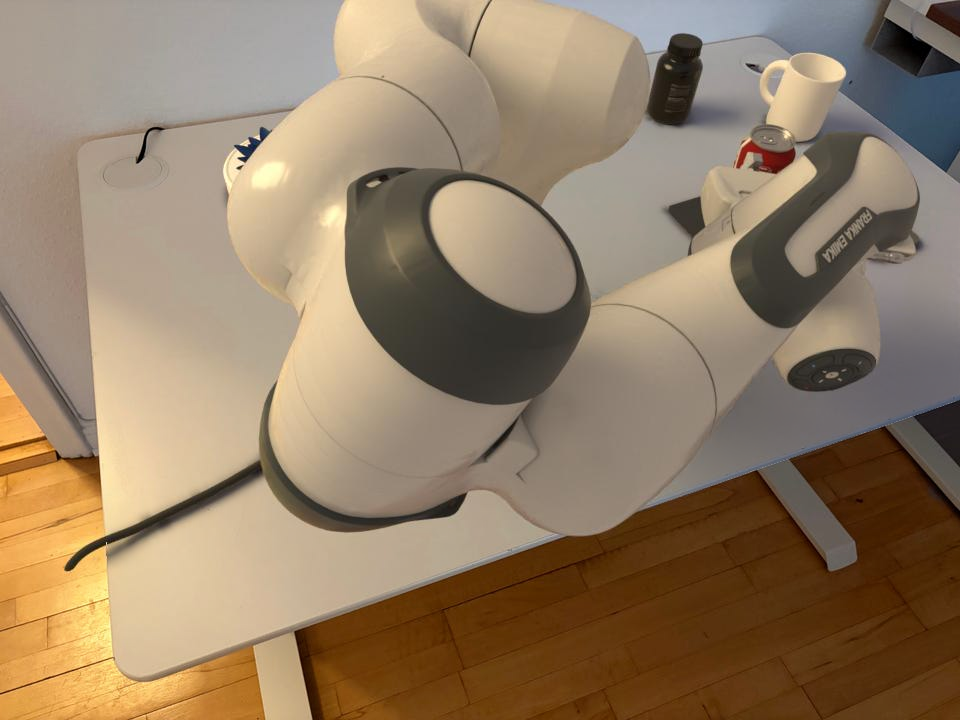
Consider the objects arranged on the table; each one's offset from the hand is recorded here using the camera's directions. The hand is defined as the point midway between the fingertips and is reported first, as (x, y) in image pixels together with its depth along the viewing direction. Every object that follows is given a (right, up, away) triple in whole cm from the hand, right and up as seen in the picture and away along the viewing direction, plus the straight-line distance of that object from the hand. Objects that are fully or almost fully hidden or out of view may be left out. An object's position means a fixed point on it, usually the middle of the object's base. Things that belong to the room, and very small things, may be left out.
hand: (795, 164), depth 79 cm
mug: (+14, +16, +36) cm, 42 cm away
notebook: (-1, -2, +20) cm, 20 cm away
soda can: (+2, -1, +20) cm, 20 cm away
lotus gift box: (-59, 0, +19) cm, 62 cm away
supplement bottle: (-5, +18, +36) cm, 41 cm away
